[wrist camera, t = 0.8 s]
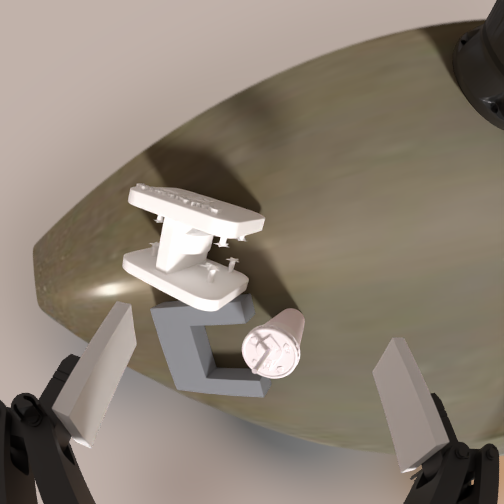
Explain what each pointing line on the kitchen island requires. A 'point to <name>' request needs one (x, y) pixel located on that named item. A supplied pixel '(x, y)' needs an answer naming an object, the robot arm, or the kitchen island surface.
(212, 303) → the cable organizer
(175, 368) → the notched board
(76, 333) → the kitchen island surface
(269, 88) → the kitchen island surface
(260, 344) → the smoothie
